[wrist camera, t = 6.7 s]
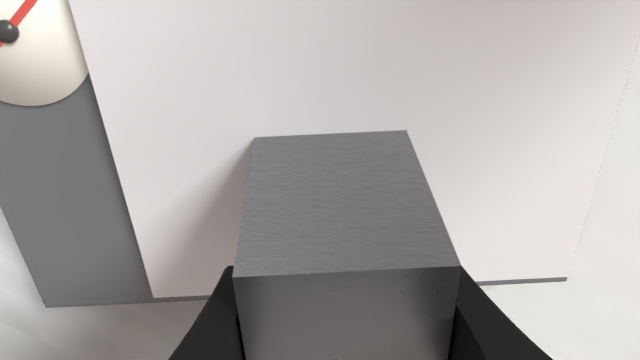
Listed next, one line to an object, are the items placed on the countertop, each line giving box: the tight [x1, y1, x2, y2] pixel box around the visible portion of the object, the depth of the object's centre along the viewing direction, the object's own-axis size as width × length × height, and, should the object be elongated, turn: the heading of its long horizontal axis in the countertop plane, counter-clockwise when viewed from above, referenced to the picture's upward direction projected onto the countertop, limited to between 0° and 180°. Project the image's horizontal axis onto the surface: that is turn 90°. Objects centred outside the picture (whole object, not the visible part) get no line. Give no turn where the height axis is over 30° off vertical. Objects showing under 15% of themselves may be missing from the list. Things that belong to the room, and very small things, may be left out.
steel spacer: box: [232, 130, 461, 360], centre depth 14 cm, size 4×4×6 cm
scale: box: [0, 0, 640, 308], centre depth 16 cm, size 20×16×3 cm
